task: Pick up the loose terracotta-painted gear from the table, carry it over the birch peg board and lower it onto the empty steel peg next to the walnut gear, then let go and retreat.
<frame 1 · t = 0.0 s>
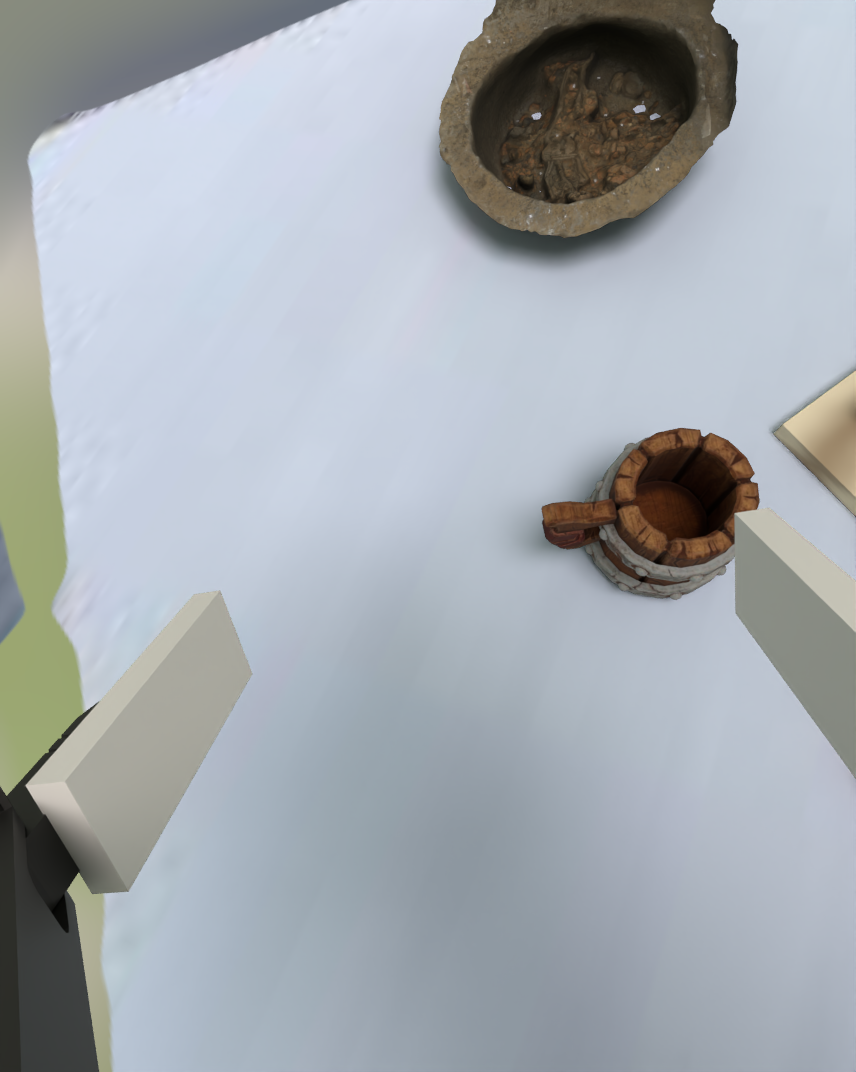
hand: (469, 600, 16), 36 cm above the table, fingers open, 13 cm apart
mug: (634, 536, 50), on the table
stone bowl: (574, 163, 59), on the table
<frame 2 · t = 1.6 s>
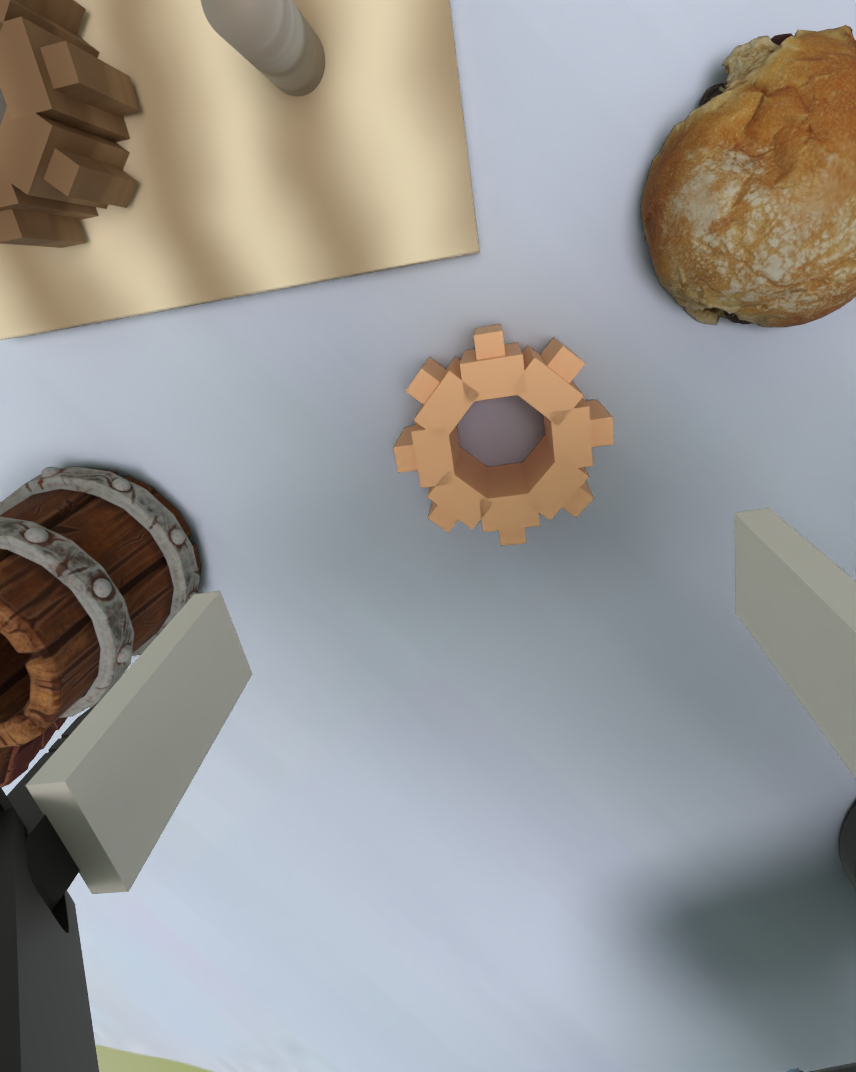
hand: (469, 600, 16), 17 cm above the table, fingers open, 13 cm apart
bread roll: (753, 197, 26), on the table
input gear: (500, 423, 31), on the table
mug: (118, 574, 37), on the table
peg board: (185, 104, 27), on the table
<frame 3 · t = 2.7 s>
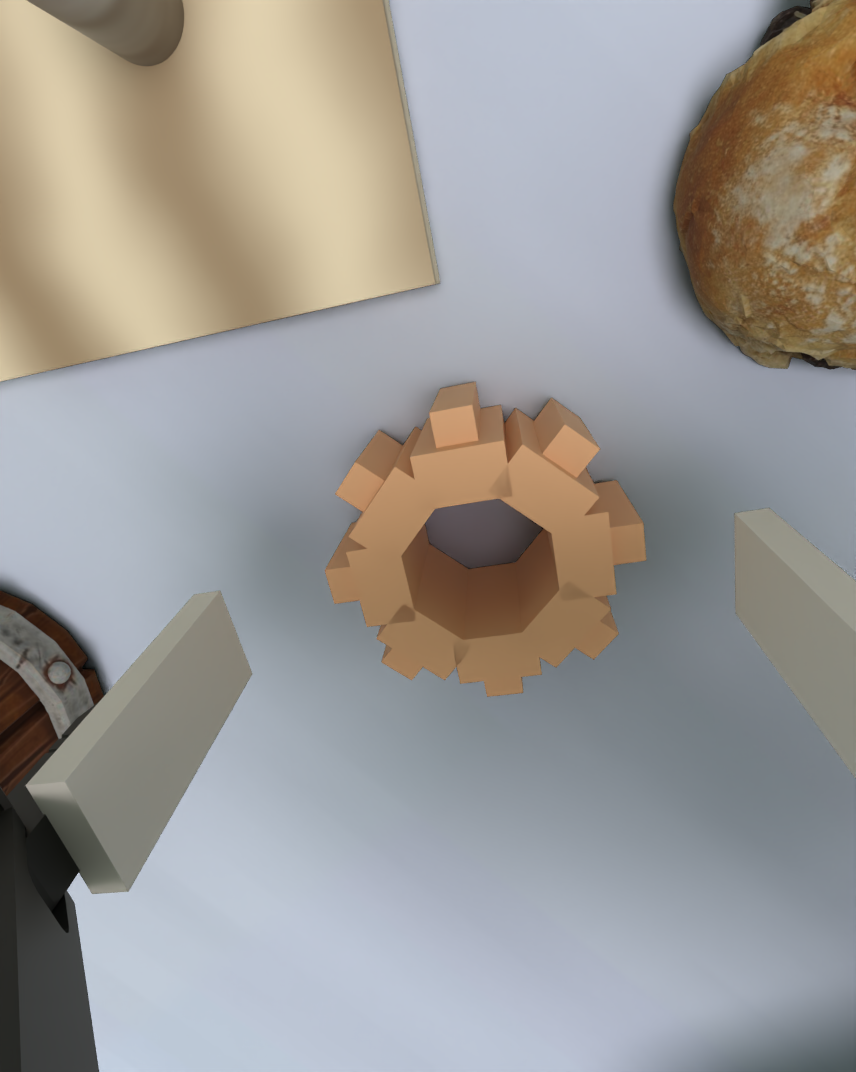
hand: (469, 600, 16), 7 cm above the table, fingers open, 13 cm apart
bread roll: (841, 182, 18), on the table
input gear: (482, 512, 22), on the table
mug: (4, 706, 29), on the table
peg board: (5, 91, 18), on the table
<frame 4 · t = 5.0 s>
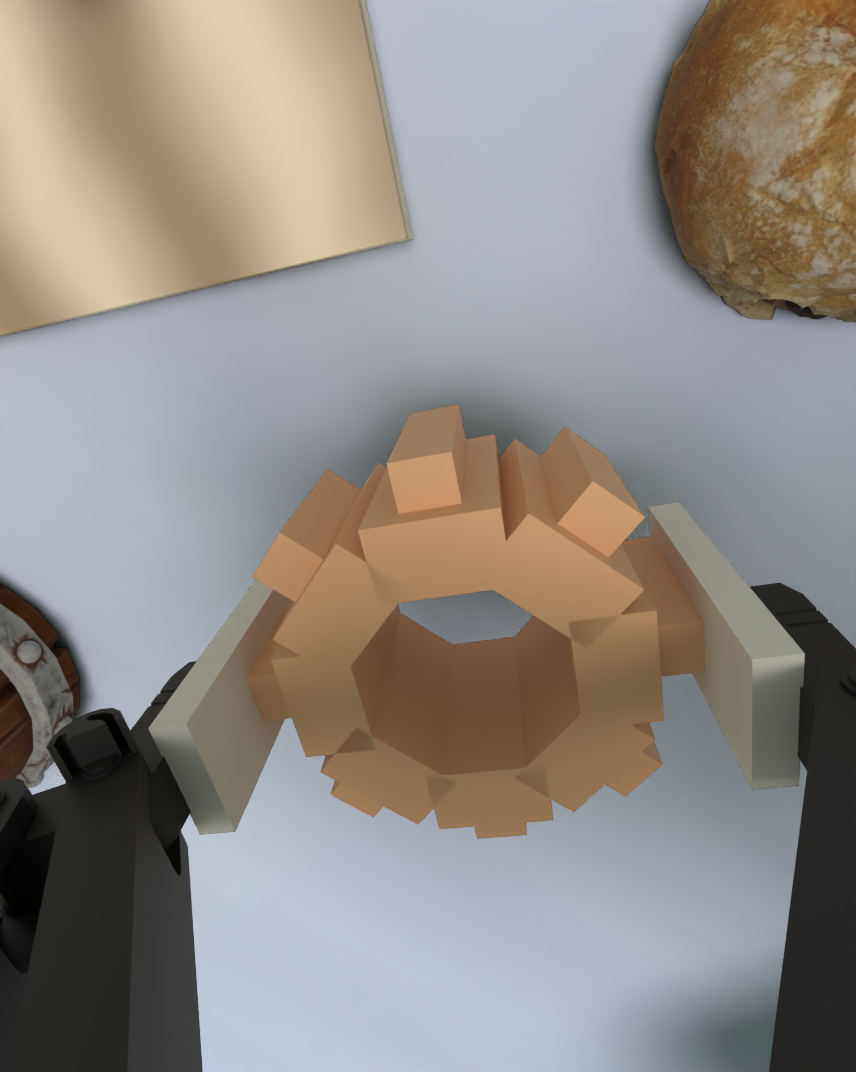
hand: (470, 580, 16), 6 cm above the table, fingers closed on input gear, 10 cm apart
bread roll: (829, 119, 17), on the table
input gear: (470, 574, 17), point 6 cm above the table, touching gripper
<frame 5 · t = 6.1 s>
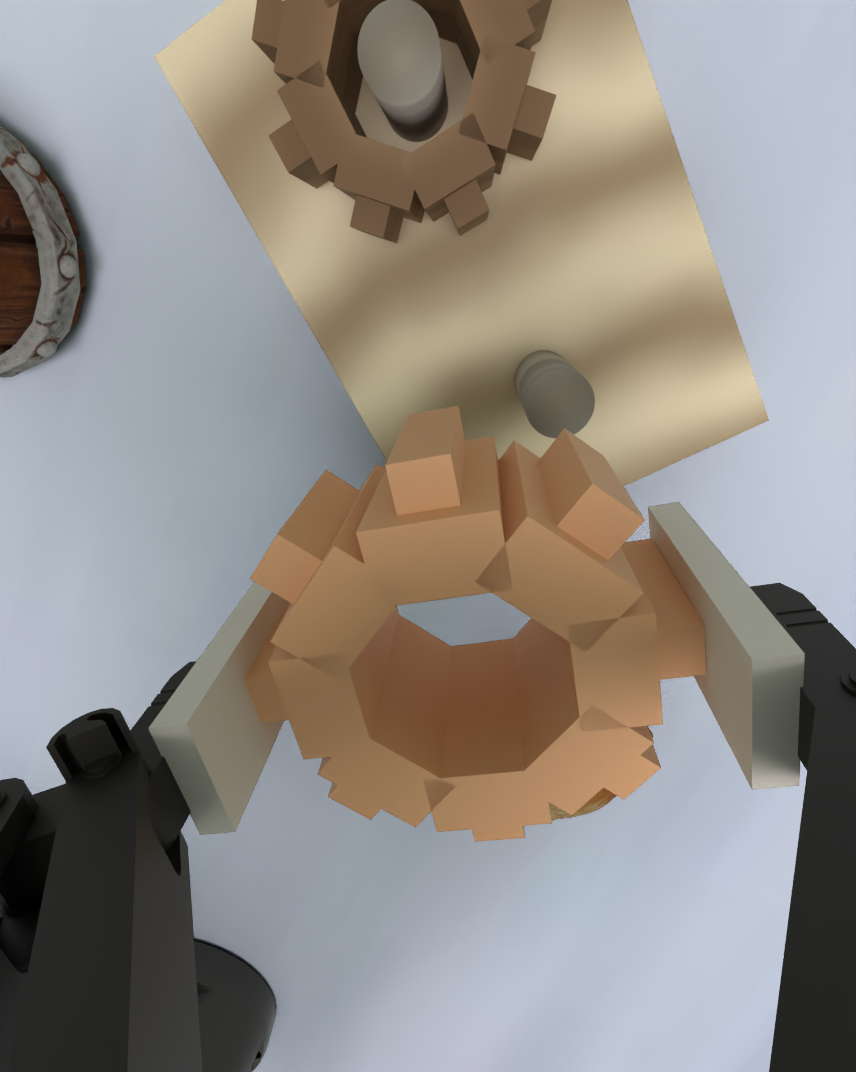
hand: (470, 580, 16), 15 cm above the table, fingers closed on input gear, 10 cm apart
bread roll: (551, 706, 36), on the table
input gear: (468, 576, 17), point 14 cm above the table, touching gripper
peg board: (483, 253, 27), on the table
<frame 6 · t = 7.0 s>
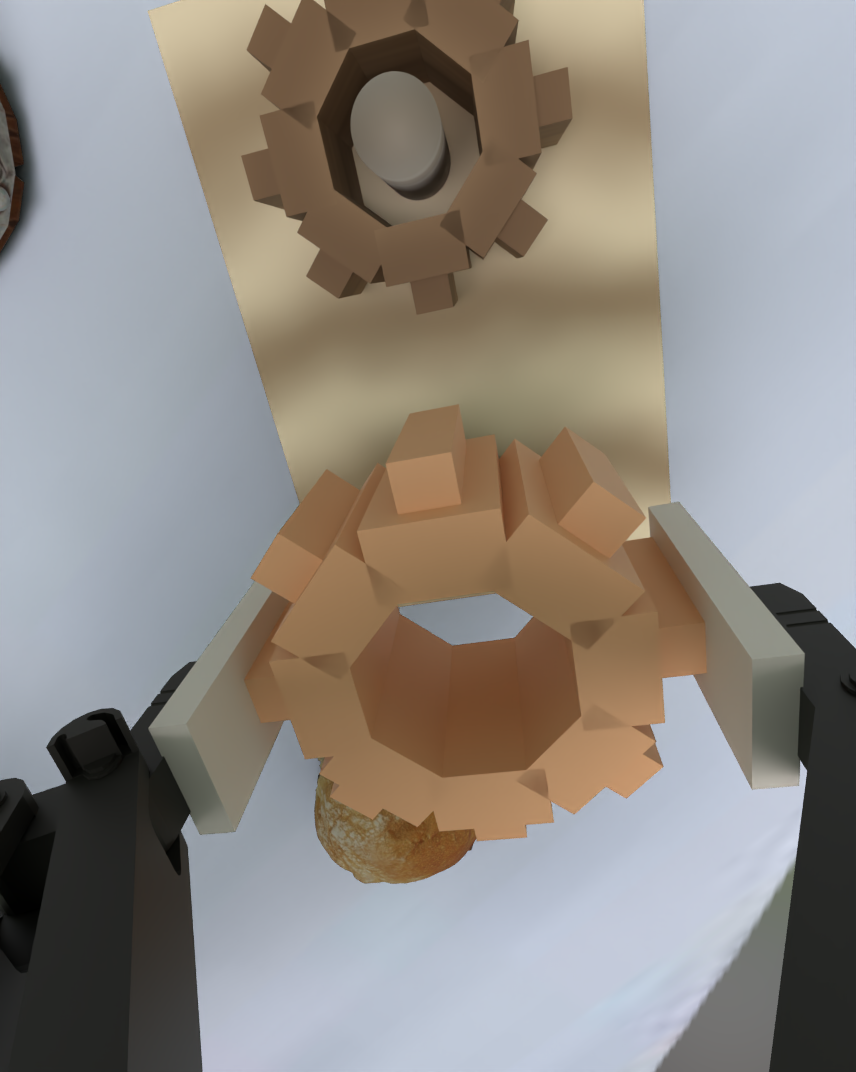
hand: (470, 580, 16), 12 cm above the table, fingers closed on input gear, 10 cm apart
bread roll: (407, 764, 36), on the table
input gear: (469, 575, 17), point 12 cm above the table, touching gripper
peg board: (450, 324, 26), on the table
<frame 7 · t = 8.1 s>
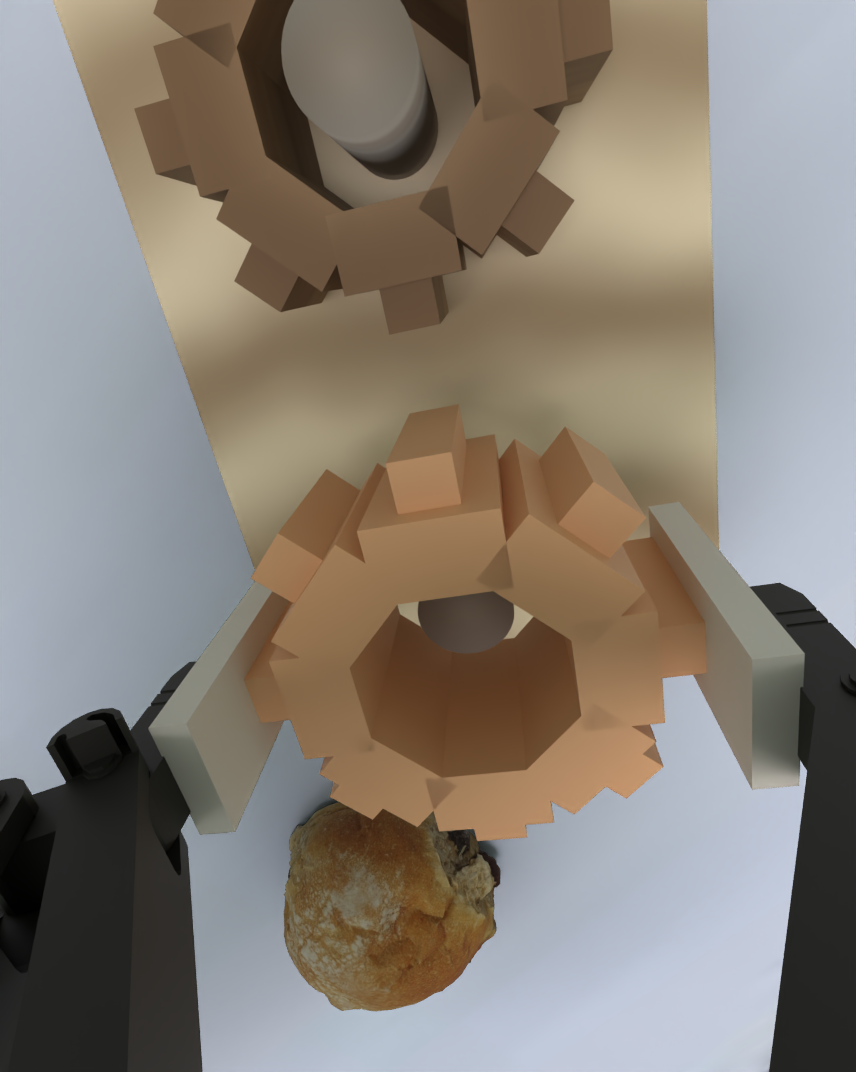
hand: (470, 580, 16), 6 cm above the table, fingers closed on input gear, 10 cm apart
bread roll: (395, 853, 31), on the table
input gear: (469, 575, 17), point 6 cm above the table, touching gripper
peg board: (440, 340, 20), on the table
when the fingers open (3 cm above the table, at t = 9.4 s): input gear stays where it is, resting on peg board.
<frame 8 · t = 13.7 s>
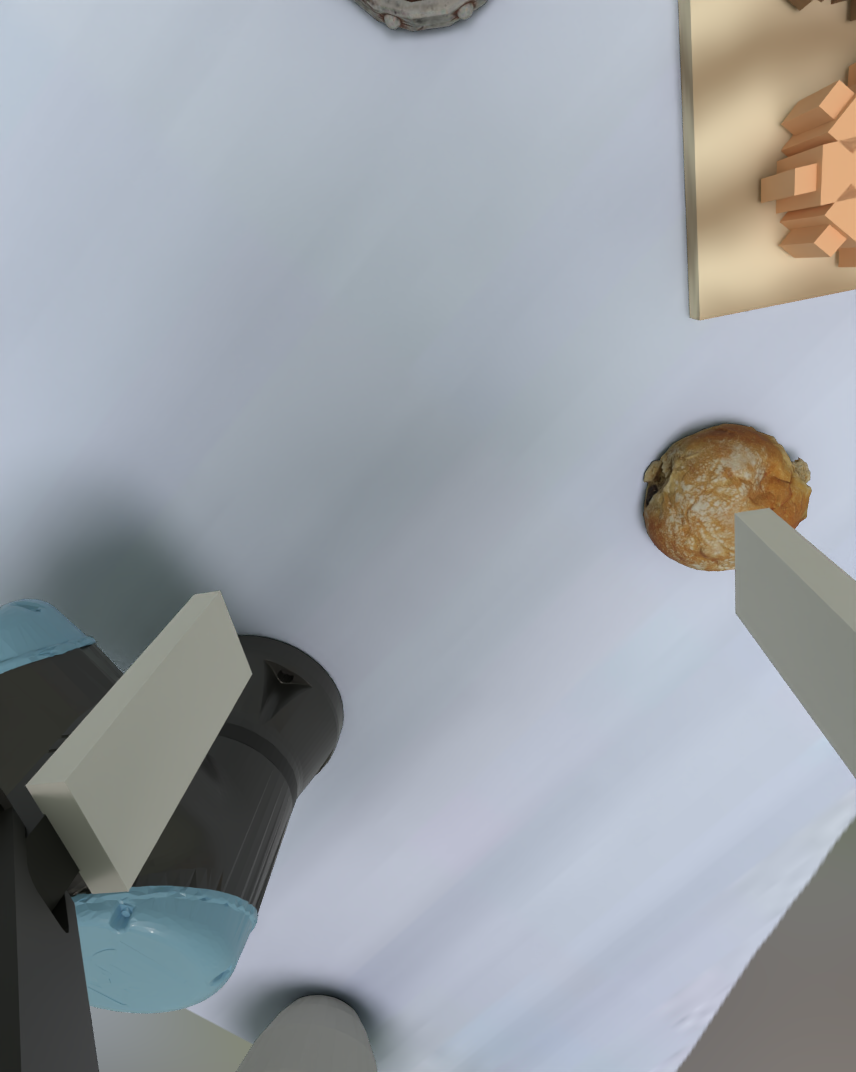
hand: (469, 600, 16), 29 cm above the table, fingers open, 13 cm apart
bread roll: (714, 488, 43), on the table
vase: (325, 1010, 74), on the table
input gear: (850, 170, 33), point 2 cm above the table, touching peg board
peg board: (835, 56, 33), on the table
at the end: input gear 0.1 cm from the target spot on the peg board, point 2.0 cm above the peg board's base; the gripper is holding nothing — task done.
